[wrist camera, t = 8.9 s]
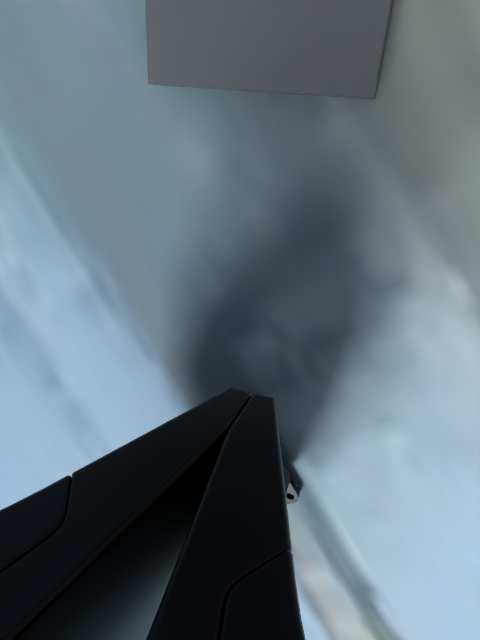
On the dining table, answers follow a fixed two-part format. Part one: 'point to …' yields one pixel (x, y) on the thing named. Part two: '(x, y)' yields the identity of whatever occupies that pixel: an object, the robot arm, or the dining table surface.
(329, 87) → the console
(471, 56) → the dining table surface
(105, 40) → the dining table surface
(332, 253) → the dining table surface
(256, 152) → the dining table surface
